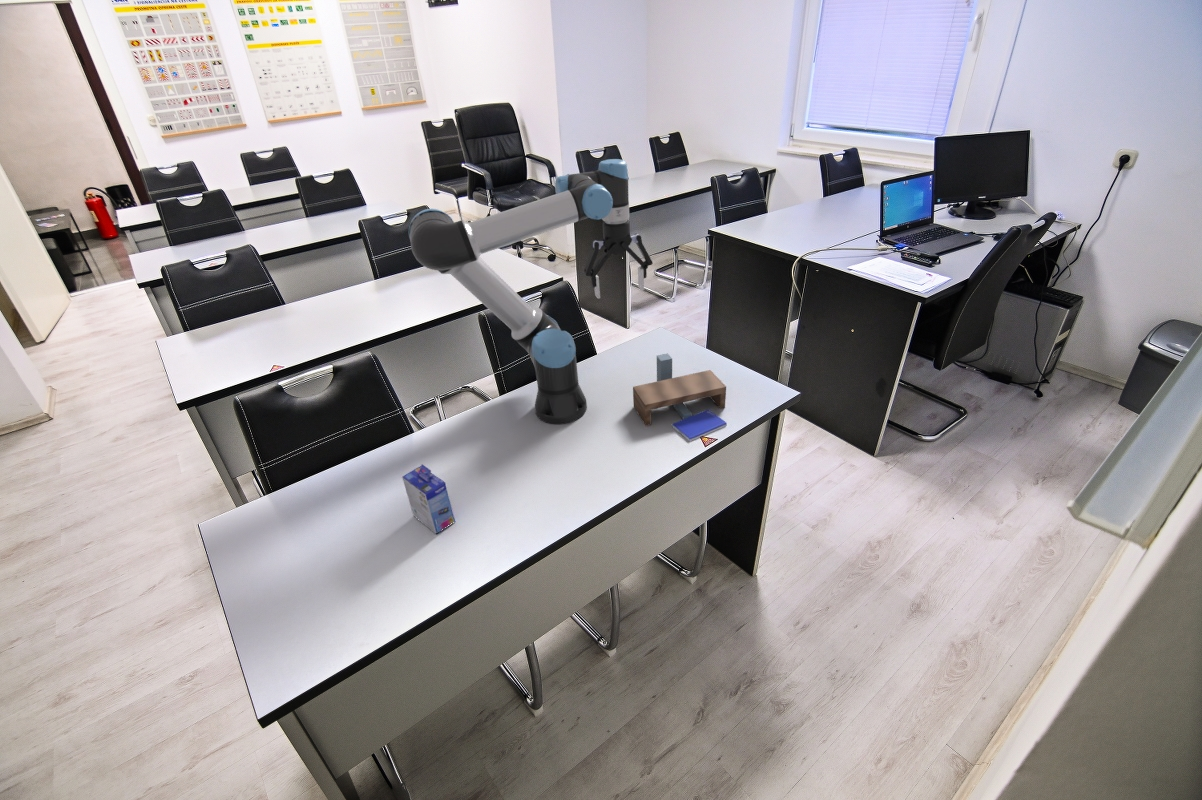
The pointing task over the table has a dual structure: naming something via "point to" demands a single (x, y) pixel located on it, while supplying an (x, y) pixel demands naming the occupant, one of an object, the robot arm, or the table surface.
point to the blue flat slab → (699, 425)
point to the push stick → (666, 373)
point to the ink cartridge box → (428, 498)
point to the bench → (677, 392)
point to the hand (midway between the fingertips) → (619, 292)
